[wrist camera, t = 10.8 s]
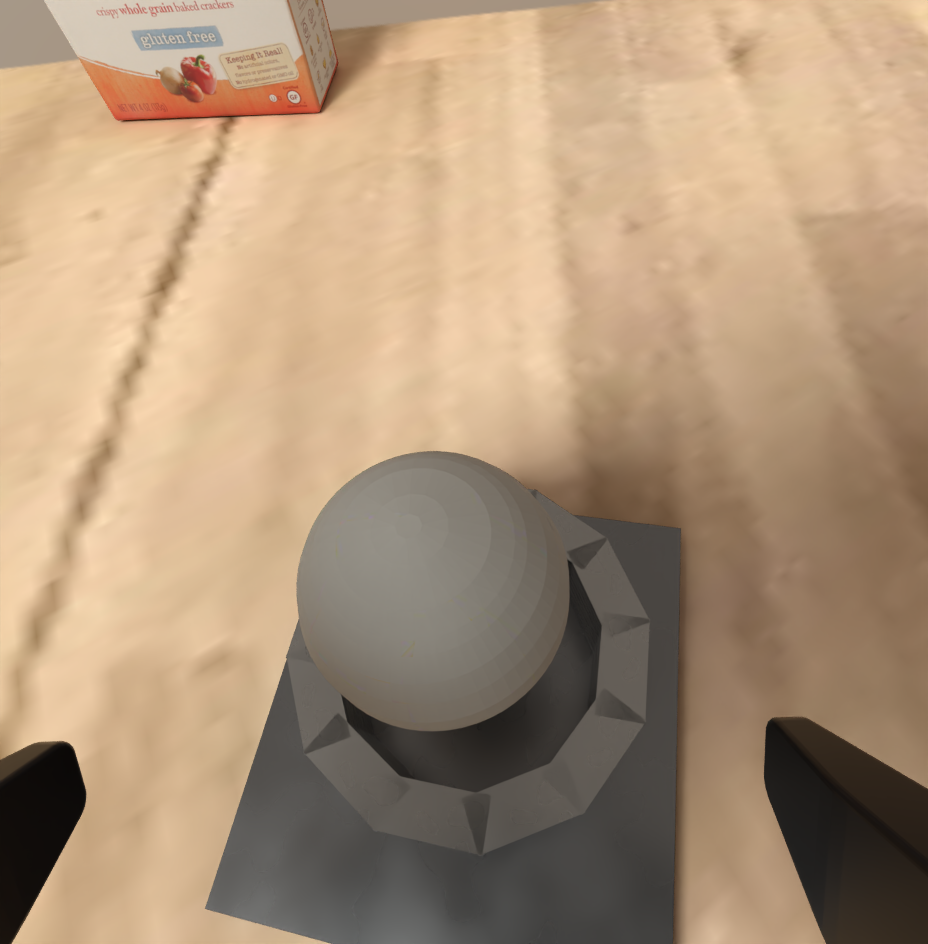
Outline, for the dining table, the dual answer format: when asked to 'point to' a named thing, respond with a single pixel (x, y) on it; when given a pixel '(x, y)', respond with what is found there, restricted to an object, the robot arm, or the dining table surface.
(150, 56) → the cracker box
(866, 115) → the dining table surface
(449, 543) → the light bulb
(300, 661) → the bulb holder
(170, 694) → the dining table surface
